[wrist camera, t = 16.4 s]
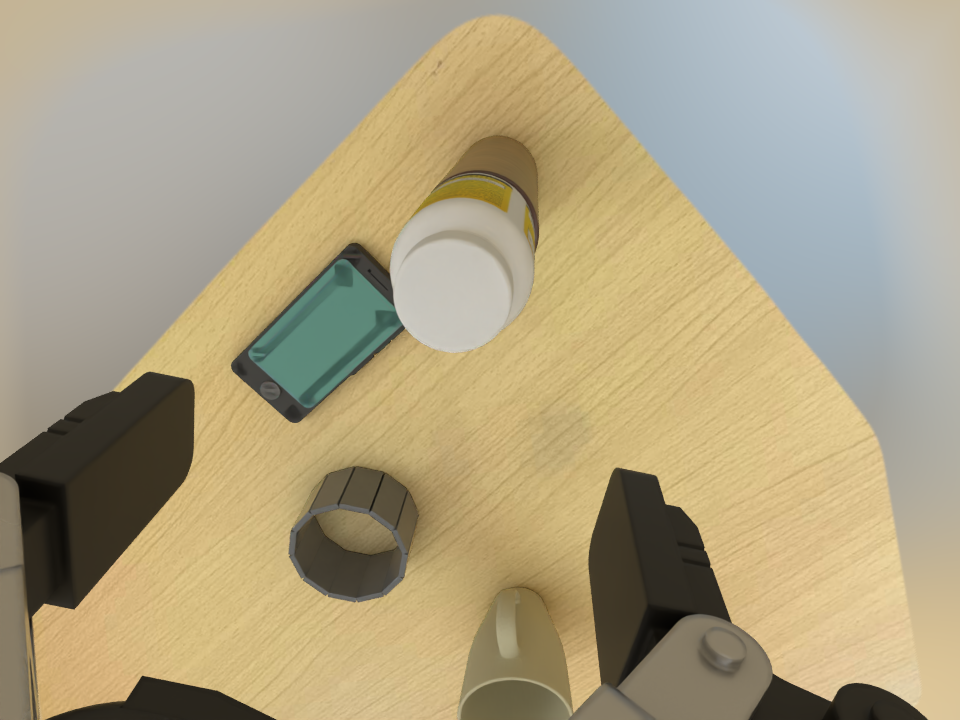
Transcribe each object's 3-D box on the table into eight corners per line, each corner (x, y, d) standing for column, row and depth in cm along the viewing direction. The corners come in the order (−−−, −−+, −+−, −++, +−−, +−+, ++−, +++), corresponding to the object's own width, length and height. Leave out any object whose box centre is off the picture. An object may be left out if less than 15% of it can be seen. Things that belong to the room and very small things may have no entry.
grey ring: (305, 546, 62) (285, 588, 57) (314, 457, 58) (293, 494, 53) (409, 567, 62) (398, 611, 57) (425, 480, 58) (414, 518, 53)
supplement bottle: (394, 223, 31) (337, 283, 22) (484, 145, 30) (462, 177, 21) (469, 310, 33) (444, 400, 24) (558, 240, 31) (568, 309, 22)
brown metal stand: (452, 208, 49) (410, 277, 32) (466, 128, 47) (428, 158, 30) (528, 223, 49) (524, 301, 32) (545, 144, 47) (551, 184, 30)
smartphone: (226, 367, 54) (350, 243, 49) (233, 361, 55) (354, 238, 50) (295, 429, 56) (422, 314, 51) (300, 421, 57) (424, 308, 52)
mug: (595, 604, 62) (608, 719, 51) (518, 658, 65) (515, 777, 54) (510, 533, 60) (504, 637, 49) (435, 593, 63) (414, 703, 52)
